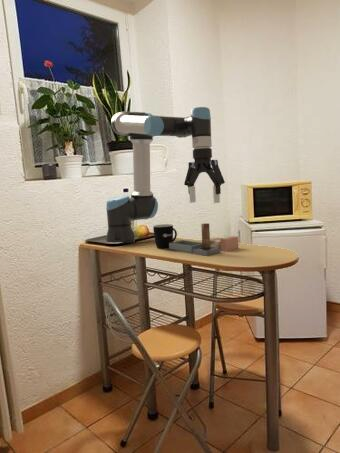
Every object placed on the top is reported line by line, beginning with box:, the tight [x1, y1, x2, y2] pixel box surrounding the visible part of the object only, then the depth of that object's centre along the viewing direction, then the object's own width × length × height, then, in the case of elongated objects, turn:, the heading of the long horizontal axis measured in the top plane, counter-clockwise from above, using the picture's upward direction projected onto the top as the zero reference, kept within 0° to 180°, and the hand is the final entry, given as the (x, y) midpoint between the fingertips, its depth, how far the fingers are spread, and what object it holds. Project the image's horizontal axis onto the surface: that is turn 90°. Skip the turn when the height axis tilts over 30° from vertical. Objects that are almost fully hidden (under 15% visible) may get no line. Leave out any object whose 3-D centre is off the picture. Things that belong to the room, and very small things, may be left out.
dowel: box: [200, 223, 211, 250], centre depth 146 cm, size 3×3×12 cm
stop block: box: [220, 235, 239, 252], centre depth 151 cm, size 3×8×5 cm, turn 131°
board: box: [210, 236, 222, 251], centre depth 157 cm, size 10×8×4 cm
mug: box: [152, 223, 178, 250], centre depth 164 cm, size 12×9×10 cm
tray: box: [168, 239, 202, 254], centre depth 155 cm, size 14×8×3 cm, turn 41°
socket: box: [192, 246, 221, 257], centre depth 147 cm, size 8×8×2 cm
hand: (204, 202), depth 144 cm, fingers open, 13 cm apart
